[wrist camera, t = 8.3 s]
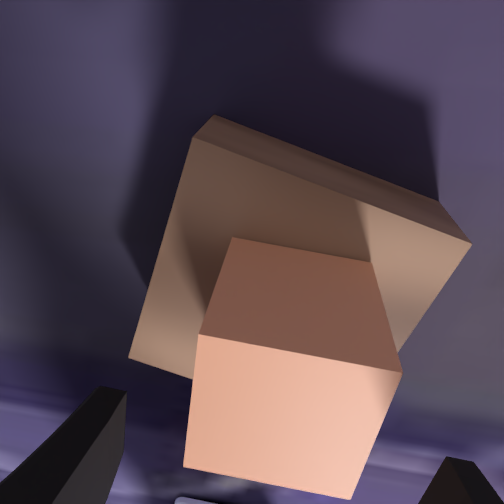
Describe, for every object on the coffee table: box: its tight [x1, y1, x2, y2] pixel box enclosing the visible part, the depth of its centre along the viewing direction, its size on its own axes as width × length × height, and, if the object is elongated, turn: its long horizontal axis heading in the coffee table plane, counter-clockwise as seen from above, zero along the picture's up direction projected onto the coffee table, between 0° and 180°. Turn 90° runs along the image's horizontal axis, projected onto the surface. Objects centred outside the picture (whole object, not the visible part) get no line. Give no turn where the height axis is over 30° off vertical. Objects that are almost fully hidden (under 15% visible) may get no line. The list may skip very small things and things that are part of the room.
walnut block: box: [128, 114, 472, 379], centre depth 17 cm, size 9×9×4 cm
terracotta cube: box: [183, 237, 403, 500], centre depth 13 cm, size 4×4×5 cm
